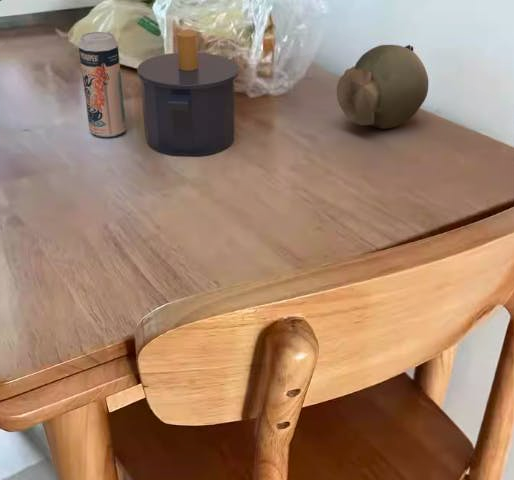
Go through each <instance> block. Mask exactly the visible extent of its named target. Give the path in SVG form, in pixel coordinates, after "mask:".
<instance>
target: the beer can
mask: <svg viewBox="0 0 514 480" xmlns="http://www.w3.org/2000/svg"><path fill="white" fill-rule="evenodd" d="M79 41H80V42H79V43H78V45H77V46H78V53H79V61H80V68H81V76H82V83H83V90H84V91H83V93H84V98H85V107H86V114H87V121H88V122H87V123H88V130H89V132H90V133H91V134H93V135H96V136H97V137H99V138H114V137H118V136H120V135H122V133H124V132H125V131H126V130H127V125H126V124H127V123H126V114H125V104H124V103H125V102H124V95H123V94H124V93H123V84H122V73H121V63H120V54H119V42H118V41H117V39H116V38H115V35H114V34H112V33H110V32H106V31H105V32H104V31H93V32H87V33H84V34H82V35H81V37H80V40H79Z"/></svg>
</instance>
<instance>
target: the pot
mask: <svg viewBox="0 0 514 480" xmlns="http://www.w3.org/2000/svg"><path fill="white" fill-rule="evenodd" d="M139 80H140V93H141V94H140V95H141V104H142V116H143V127H144V129H143V130H144V138H145V141H146V145H148V146H149V147H150V148H151V149H152V150H154V151H156V152H157V153H160V154H163V155H167V156H173V157H183V158H184V157H185V158H194V157H195V158H196V157H204V156H210V155H211V156H212V155H214V154H215V155H216V154H218V153H221V152H223V151H225V150H227V149H229V148H230V147H231V146H232V145H233V143H234V141H235V134H236V96H235V94H236V93H235V92H236V82H235V81H236V78H235V79H234V80H233V81H231V82H229V83H226V84H223V85H220V86H216V87H211V88H204V89H171V88H164V87H159V86H155V85H152V84H149V83H147V82H145V81H143V80H142V79H140V78H139Z"/></svg>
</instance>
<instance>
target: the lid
mask: <svg viewBox="0 0 514 480" xmlns="http://www.w3.org/2000/svg"><path fill="white" fill-rule="evenodd" d="M176 44H177V45H176V47H177V52H170V53H165V54H160V55H157V56H152V57H150V58H147V59H145V60H143V61H142V62H140V63H139V65H137V68H136V71H137V72H136V73H137V76H138V77H139V80H140V79H142V80H143V81H145V82H147V83H149V84H152V85H155V86H159V87H164V88H171V89H204V88H211V87H216V86H220V85H223V84H226V83H229V82H231V81H233V80H234V79H235V80H236V79H237V78H238V76H239V74H240V66H239V64H238V63H237V62H236V61H234V60H232V59H231V58H228V57H225V56H223V55H218V54H214V53H208V52H199V51H198V50H199V48H198V47H199V46H198V33H197V32H196V31H193V30H181V31H178V32H177V33H176Z"/></svg>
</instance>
